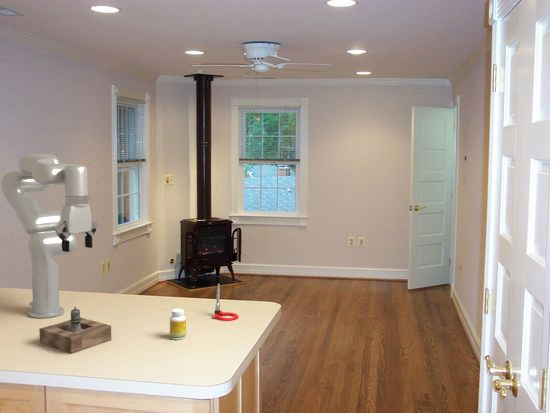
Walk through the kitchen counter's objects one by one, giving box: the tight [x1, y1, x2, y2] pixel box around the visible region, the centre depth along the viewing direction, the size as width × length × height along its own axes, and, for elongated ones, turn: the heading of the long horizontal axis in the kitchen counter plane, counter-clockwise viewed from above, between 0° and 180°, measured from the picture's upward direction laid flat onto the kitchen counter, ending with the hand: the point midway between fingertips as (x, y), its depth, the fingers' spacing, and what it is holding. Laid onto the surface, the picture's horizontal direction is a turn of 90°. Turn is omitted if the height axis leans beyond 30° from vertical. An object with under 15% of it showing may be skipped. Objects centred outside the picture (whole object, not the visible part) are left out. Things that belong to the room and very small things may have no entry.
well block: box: [39, 316, 112, 355], centre depth 198 cm, size 16×16×5 cm
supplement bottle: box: [169, 308, 187, 341], centre depth 204 cm, size 5×5×10 cm
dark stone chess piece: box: [68, 306, 84, 333], centre depth 198 cm, size 6×6×12 cm
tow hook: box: [211, 283, 240, 322], centre depth 227 cm, size 8×13×9 cm
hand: (77, 249), depth 209 cm, fingers open, 9 cm apart
